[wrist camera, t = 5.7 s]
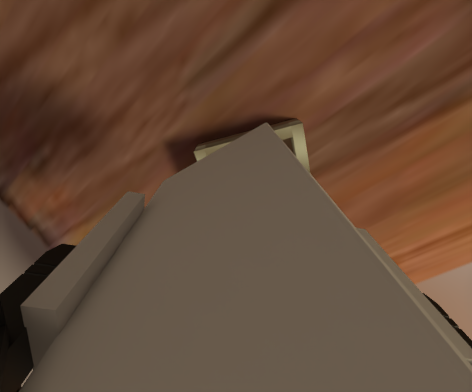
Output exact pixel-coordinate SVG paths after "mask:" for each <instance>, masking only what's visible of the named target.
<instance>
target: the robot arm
mask: <svg viewBox="0 0 472 392" xmlns="http://www.w3.org/2000/svg"><path fill="white" fill-rule="evenodd" d="M144 199H145V194H140V193H134V192H127V193H126V194H125V195H124V196H123V197H122V198H121V199H120V200H119V201H118V203H117V204H116V205H115V206H114V207H113V208H112V209H111V210H110V211H109V212H108V213H107V214H106V215H105V216H104V217H103V218H102V220H101V221H100V222H99V223H98V224H97V225H96V226H95V227H94V228H93V229H92V230H91V231H90V232H89V233H88V234H87V235H86V237H85V238H84V239H83V240H82V241H81V242H80V243H79V244H78V245H77V246H75V245H67V244H61V245H59V246H57V247H55V248H53V249H51V250H49V251H47V252H45V254H43V255H42V256H41V257H40V258H39V259H38V260H37V261H36V262H35V263H34V265H31V266H30V267H29V268H28V269H27V270H26V271H25V273H24V274H22V275H21V276H19V277H18V278H17V279H16V280H15V281H14V282H13V283H12V284H11V285H10V286H9V287H7V288H6V289H5V290H4V291H3V292H2V293H1V294H0V392H19V391H20V389H21V384H22V383H23V381H24V380H25V378H26V377H27V376H28V374H29V373H30V371H31V370H32V368H33V370H34V369H35V367H36V366H37V364H38V363H39V362H40V360H41V359H42V357H43V356H44V354H45V353H46V351H47V350H48V348H49V347H50V345H51V344H52V343H53V341H54V340H55V338H56V337H57V336H58V335H59V333H60V332H61V330H62V329H63V328H64V326H65V325H66V323H67V322H68V320H69V319H70V317H71V316H72V314H73V313H74V311H75V310H76V309H77V307H78V306H79V304H80V303H81V301H82V300H83V298H84V297H85V295H86V294H87V292H88V291H89V290H90V288H91V287H92V285H93V284H94V282H95V281H96V279H97V278H98V276H99V275H100V273H101V272H102V271H103V269H104V268H105V266H106V265H107V263H108V262H109V260H110V259H111V257H112V256H113V254H114V253H115V252H116V250H117V249H118V247H119V246H120V244H121V243H122V241H123V240H124V238H125V237H126V235H127V234H128V232H129V231H130V230H131V228H132V227H133V225H134V224H135V222H136V221H137V219H138V218H139V216H140V215H141V213H142V212H143V211H144ZM356 229H357V230H358V231H359V232H360V233H361V235H362V236H363V237H364V238H365V239H366V241H367V242H368V243H369V244H370V245H371V247H372V248H373V249H374V250H375V251H376V252H377V254H378V255H379V256H380V257H381V258H382V260H383V261H384V262H385V263H386V264H387V266H388V267H389V268H390V269H391V270H392V271H393V273H394V274H395V275H396V276H397V277H398V279H399V280H400V281H401V282H402V283H403V285H404V286H405V287H406V288H407V289H408V291H409V292H410V293H411V294H412V295H413V296H414V298H415V299H416V300H417V301H418V302H419V304H420V305H421V306H422V307H423V308H424V310H425V311H426V312H427V313H428V314H429V315H430V317H431V318H432V319H433V320H434V321H435V323H436V324H437V325H438V326H439V327H440V329H441V330H442V331H443V332H444V333H445V335H446V336H447V337H448V338H449V339H450V340H451V342H452V343H453V344H454V345H455V346H456V348H457V349H458V350H459V351H460V352H461V354H462V355H463V356H464V357H465V358H466V360H467V361H468V362H469V363H470V364H471V366H472V340H471V339H470V338H469V337H468V336H467V335H466V334H465V333H464V332H463V331H462V330H461V329H459V328H458V325H457V324H456V323H455V322H454V321H453V320H452V319H450V318H449V316H448V314H447V313H446V312H445V311H444V310H443V309H442V308H441V307H440V306H439V305H438V304H437V303H436V302H434V301H433V300H432V299H430V298H429V297H428V296H427V295H425V294H424V293H421V291H420V290H419V289H418V288H417V287H416V286H415V285H414V283H413V282H412V281H411V280H410V279H409V278H408V277H407V276H406V274H405V273H404V272H403V271H402V270H401V269H400V268H399V267H398V266H397V264H396V263H395V262H394V261H393V260H392V259H391V258H390V257H389V256H388V254H387V253H386V252H385V251H384V250H383V249H382V248H381V247H380V245H379V244H378V243H377V242H376V241H375V240H374V239H373V238H372V237H371V235H370V234H369V233H368V232H367V231H366V230H365V229H360V228H356Z"/></svg>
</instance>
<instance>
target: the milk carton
mask: <svg viewBox="0 0 472 392" xmlns="http://www.w3.org/2000/svg"><path fill="white" fill-rule="evenodd" d="M19 392H472V366H471V364H470V363H469V362H468V361H467V360H466V358H465V357H464V356H463V355H462V354H461V352H460V351H459V350H458V349H457V348H456V346H455V345H454V344H453V343H452V342H451V340H450V339H449V338H448V337H447V336H446V335H445V333H444V332H443V331H442V330H441V329H440V327H439V326H438V325H437V324H436V323H435V321H434V320H433V319H432V318H431V317H430V315H429V314H428V313H427V312H426V311H425V310H424V308H423V307H422V306H421V305H420V304H419V302H418V301H417V300H416V299H415V298H414V296H413V295H412V294H411V293H410V292H409V291H408V289H407V288H406V287H405V286H404V285H403V283H402V282H401V281H400V280H399V279H398V277H397V276H396V275H395V274H394V273H393V271H392V270H391V269H390V268H389V267H388V266H387V264H386V263H385V262H384V261H383V260H382V258H381V257H380V256H379V255H378V254H377V252H376V251H375V250H374V249H373V248H372V247H371V245H370V244H369V243H368V242H367V241H366V239H365V238H364V237H363V236H362V235H361V233H360V232H359V231H358V230H357V229H356V227H355V226H354V225H353V224H352V223H351V222H350V220H349V219H348V218H347V217H346V216H345V214H344V213H343V212H342V211H341V210H340V208H339V207H338V206H337V205H336V204H335V203H334V201H333V200H332V199H331V198H330V197H329V195H328V194H327V193H326V192H325V191H324V189H323V188H322V187H321V186H320V185H319V184H318V182H317V181H316V180H315V179H314V178H313V176H312V175H311V174H310V173H309V172H308V170H307V169H306V168H305V167H304V166H303V164H302V163H301V162H300V161H299V160H298V159H297V157H296V156H295V155H294V154H293V153H292V151H291V150H290V149H289V148H288V147H287V145H286V144H285V143H284V142H283V141H282V140H281V138H280V137H279V136H278V135H277V134H276V132H275V131H274V130H273V129H272V128H271V126H270V125H269V124H268V123H264V124H262V125H260V126H259V127H257V128H255V129H253V130H252V131H250V132H248V133H246V134H245V135H243V136H241V137H239V138H238V139H236V140H234V141H232V142H231V143H229V144H227V145H225V146H224V147H222V148H220V149H218V150H217V151H215V152H213V153H211V154H210V155H208V156H206V157H204V158H203V159H201V160H199V161H197V162H196V163H194V164H192V165H190V166H189V167H187V168H185V169H183V170H182V171H180V172H178V173H176V174H175V175H173V176H171V177H169V178H168V179H166V180H164V181H163V182H162V184H161V185H160V187H159V188H158V190H157V191H156V193H155V194H154V196H153V197H152V198H151V200H150V201H149V203H148V204H147V206H146V207H145V209H144V211H143V212H142V213H141V215H140V216H139V218H138V219H137V221H136V222H135V224H134V225H133V227H132V228H131V230H130V231H129V232H128V234H127V235H126V237H125V238H124V240H123V241H122V243H121V244H120V246H119V247H118V249H117V250H116V252H115V253H114V254H113V256H112V257H111V259H110V260H109V262H108V263H107V265H106V266H105V268H104V269H103V271H102V272H101V273H100V275H99V276H98V278H97V279H96V281H95V282H94V284H93V285H92V287H91V288H90V290H89V291H88V292H87V294H86V295H85V297H84V298H83V300H82V301H81V303H80V304H79V306H78V307H77V309H76V310H75V311H74V313H73V314H72V316H71V317H70V319H69V320H68V322H67V323H66V325H65V326H64V328H63V329H62V330H61V332H60V333H59V335H58V336H57V337H56V338H55V340H54V341H53V343H52V344H51V345H50V347H49V348H48V350H47V351H46V353H45V354H44V356H43V357H42V359H41V360H40V362H39V363H38V364H37V366H36V367H35V369H34V370H33V372H32V373H31V375H30V376H29V378H28V379H27V380H26V382H25V383H24V385H23V387H22V388H21V389H20V391H19Z"/></svg>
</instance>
